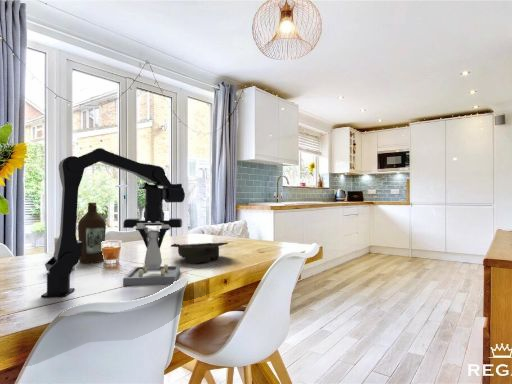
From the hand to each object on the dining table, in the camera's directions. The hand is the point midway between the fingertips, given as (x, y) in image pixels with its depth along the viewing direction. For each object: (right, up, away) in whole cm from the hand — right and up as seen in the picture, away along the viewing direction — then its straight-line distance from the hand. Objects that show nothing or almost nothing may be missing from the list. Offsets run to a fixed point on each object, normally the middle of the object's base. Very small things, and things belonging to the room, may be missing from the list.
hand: (153, 248), depth 112 cm
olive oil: (-35, -11, +27) cm, 45 cm away
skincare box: (-38, -10, +12) cm, 41 cm away
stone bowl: (+10, -11, +32) cm, 35 cm away
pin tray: (0, -10, 0) cm, 10 cm away
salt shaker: (0, -7, 0) cm, 7 cm away
